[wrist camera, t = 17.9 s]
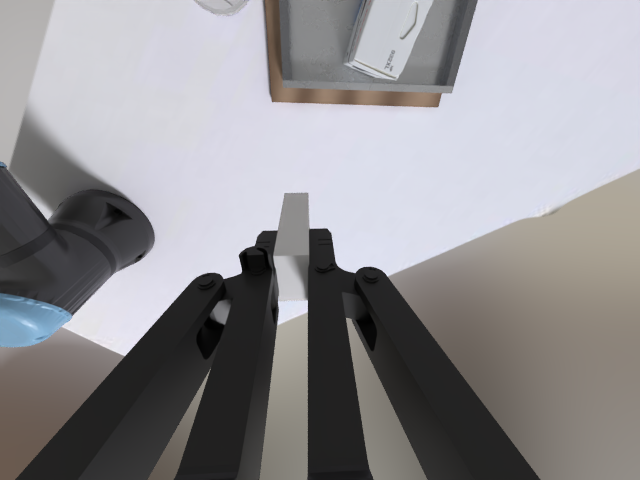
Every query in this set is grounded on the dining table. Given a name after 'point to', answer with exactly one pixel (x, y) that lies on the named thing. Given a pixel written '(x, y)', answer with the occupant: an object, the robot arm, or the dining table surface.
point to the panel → (329, 94)
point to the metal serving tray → (334, 34)
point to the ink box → (385, 36)
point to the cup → (222, 6)
